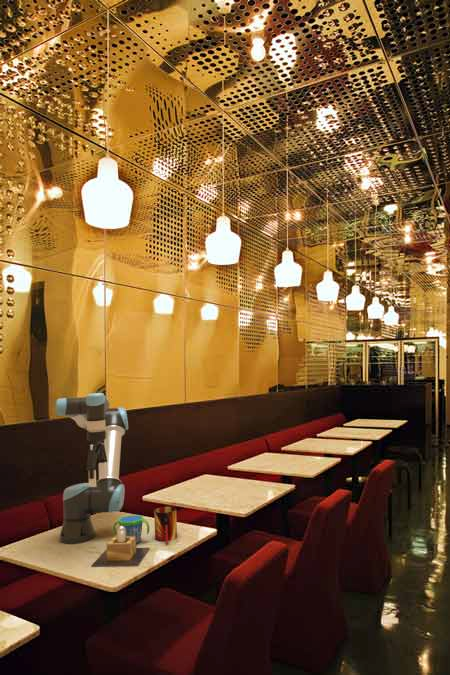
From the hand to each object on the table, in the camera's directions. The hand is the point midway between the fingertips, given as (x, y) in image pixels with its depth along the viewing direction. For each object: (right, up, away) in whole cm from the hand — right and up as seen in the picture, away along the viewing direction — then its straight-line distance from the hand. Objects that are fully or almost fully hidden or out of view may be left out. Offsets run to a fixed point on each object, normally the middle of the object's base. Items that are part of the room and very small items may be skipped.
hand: (97, 482), depth 194 cm
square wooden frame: (+12, -27, -8) cm, 30 cm away
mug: (+28, -28, +11) cm, 41 cm away
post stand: (+12, -27, -9) cm, 31 cm away
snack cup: (+12, -29, +8) cm, 32 cm away
